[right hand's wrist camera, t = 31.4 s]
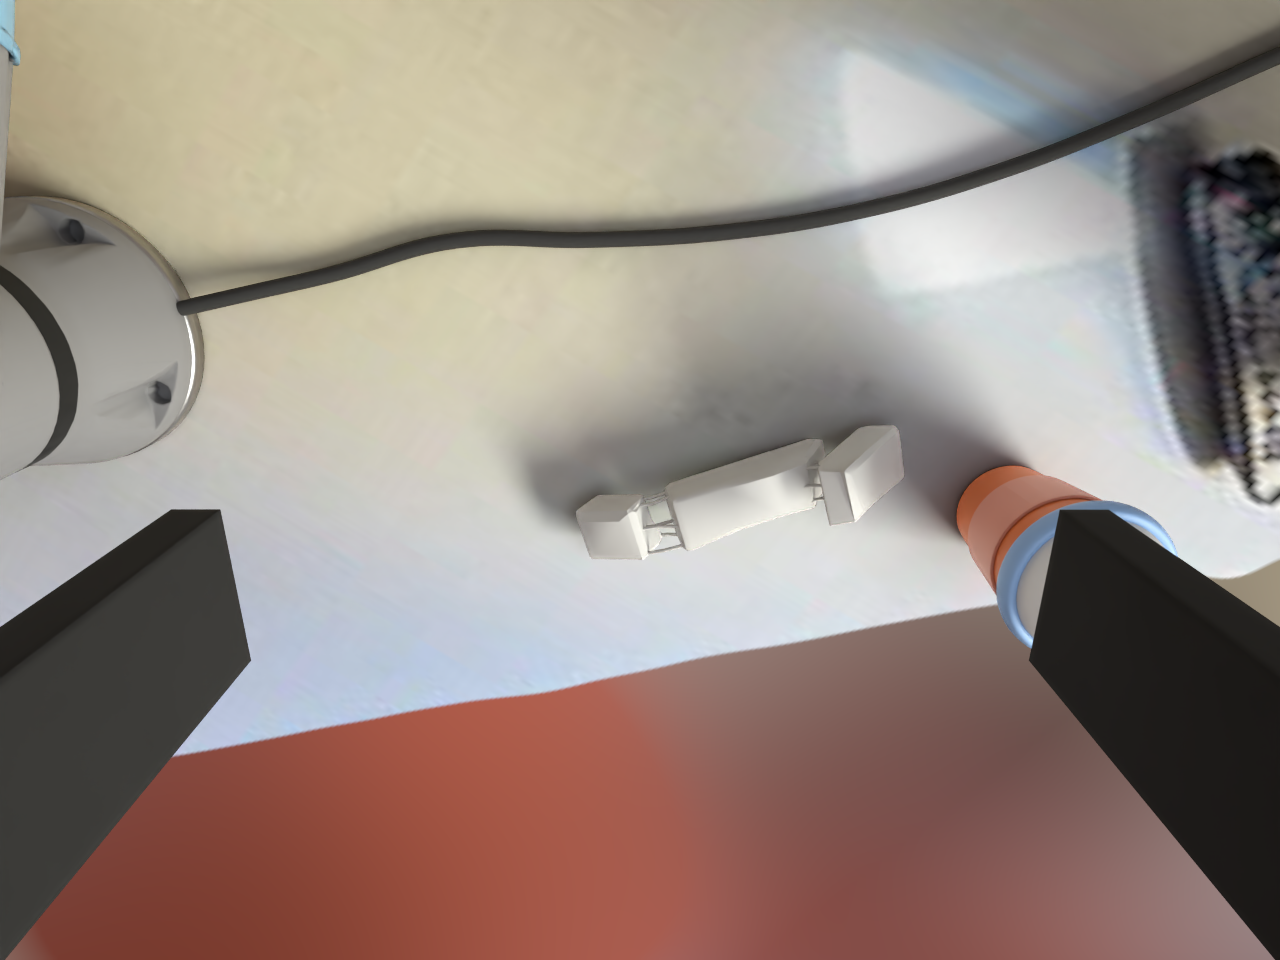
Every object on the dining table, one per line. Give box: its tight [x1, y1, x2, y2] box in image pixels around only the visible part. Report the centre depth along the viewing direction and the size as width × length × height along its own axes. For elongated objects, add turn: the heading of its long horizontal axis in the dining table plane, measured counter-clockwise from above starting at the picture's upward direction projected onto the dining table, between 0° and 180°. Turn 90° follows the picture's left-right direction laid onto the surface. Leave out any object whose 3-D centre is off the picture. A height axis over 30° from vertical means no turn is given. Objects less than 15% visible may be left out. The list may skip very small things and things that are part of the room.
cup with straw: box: [957, 466, 1178, 648], centre depth 42 cm, size 9×9×18 cm
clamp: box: [576, 425, 905, 560], centre depth 47 cm, size 20×4×7 cm, turn 106°
